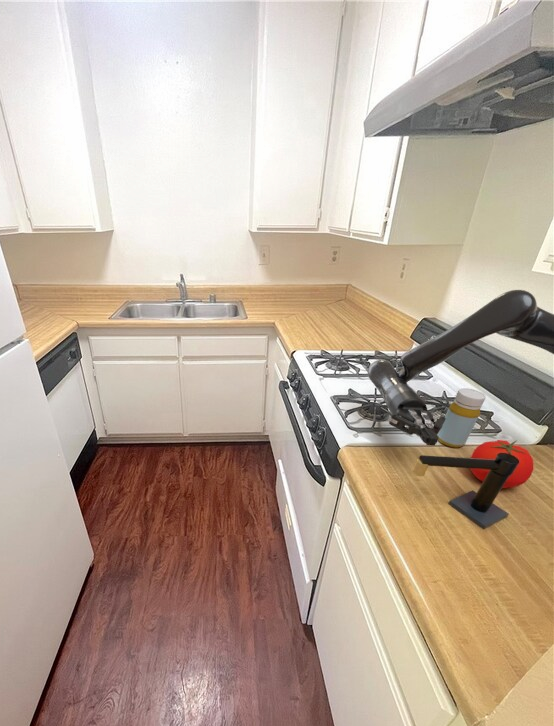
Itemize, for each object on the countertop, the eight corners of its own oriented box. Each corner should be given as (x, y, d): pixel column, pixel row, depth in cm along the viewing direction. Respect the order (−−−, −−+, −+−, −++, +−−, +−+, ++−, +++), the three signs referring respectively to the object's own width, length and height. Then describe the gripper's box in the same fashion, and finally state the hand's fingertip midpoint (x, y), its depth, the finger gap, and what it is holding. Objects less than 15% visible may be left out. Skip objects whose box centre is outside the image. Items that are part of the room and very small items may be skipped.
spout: (500, 472, 71) (512, 453, 68) (511, 484, 68) (524, 464, 65) (409, 466, 72) (417, 447, 69) (416, 478, 69) (424, 458, 66)
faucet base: (470, 493, 79) (492, 455, 73) (507, 517, 73) (533, 477, 67) (448, 503, 76) (468, 464, 70) (483, 529, 70) (509, 489, 64)
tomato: (513, 472, 86) (534, 438, 80) (526, 502, 77) (551, 466, 71) (459, 460, 90) (475, 426, 84) (466, 487, 81) (485, 452, 75)
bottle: (456, 451, 93) (480, 402, 84) (431, 439, 97) (451, 391, 89) (468, 443, 96) (492, 395, 88) (443, 431, 101) (464, 385, 92)
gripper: (381, 388, 86) (406, 425, 72) (435, 391, 86) (472, 429, 71) (374, 414, 90) (396, 454, 76) (425, 417, 90) (457, 458, 75)
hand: (432, 442), depth 74 cm, fingers closed
